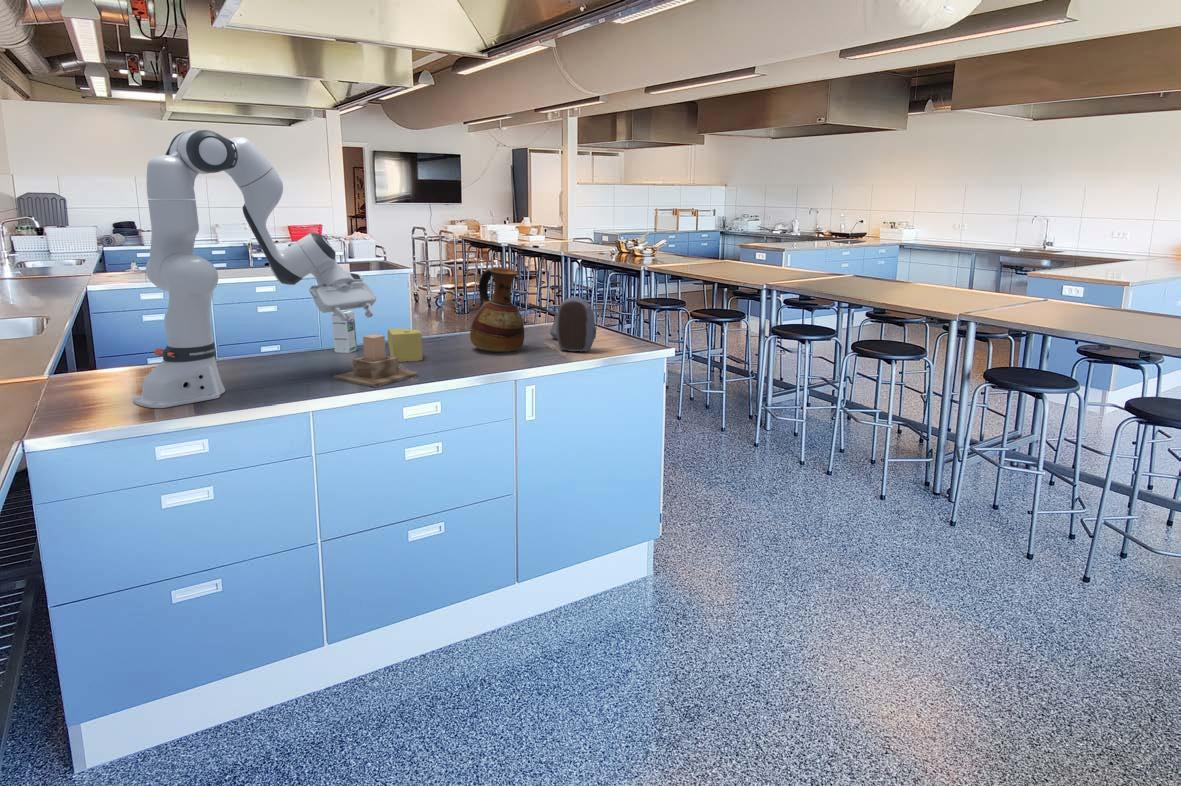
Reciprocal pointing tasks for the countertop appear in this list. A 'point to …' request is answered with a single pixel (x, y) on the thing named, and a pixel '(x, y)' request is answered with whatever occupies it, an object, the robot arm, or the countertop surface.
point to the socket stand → (375, 372)
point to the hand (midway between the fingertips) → (358, 318)
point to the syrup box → (344, 333)
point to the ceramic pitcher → (497, 315)
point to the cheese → (405, 344)
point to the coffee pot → (553, 328)
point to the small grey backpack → (575, 325)
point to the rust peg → (374, 347)
